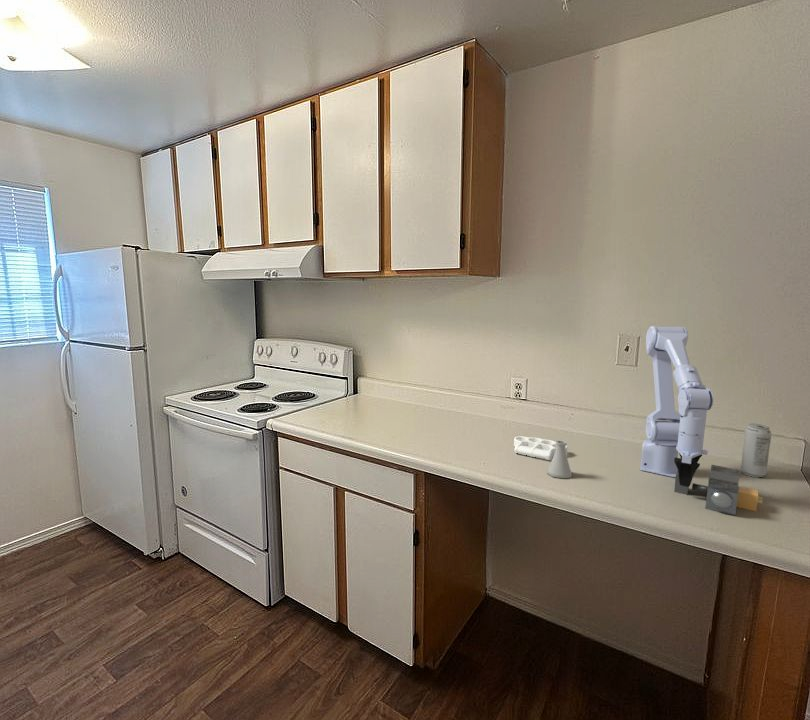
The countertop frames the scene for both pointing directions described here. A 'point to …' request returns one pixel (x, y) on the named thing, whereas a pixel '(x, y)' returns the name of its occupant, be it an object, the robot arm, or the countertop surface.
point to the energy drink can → (756, 450)
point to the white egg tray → (535, 447)
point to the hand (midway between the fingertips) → (686, 480)
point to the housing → (722, 489)
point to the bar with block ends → (744, 500)
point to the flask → (560, 462)
